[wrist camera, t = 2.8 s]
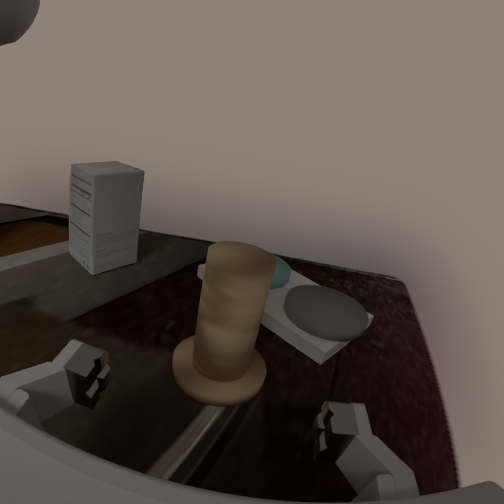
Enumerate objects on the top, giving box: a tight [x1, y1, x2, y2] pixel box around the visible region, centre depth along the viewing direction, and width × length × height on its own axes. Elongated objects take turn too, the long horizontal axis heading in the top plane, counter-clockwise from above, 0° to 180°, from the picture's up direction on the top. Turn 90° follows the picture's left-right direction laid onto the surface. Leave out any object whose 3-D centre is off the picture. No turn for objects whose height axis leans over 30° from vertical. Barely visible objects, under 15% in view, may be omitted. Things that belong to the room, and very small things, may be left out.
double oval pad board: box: [197, 253, 374, 365], centre depth 39 cm, size 22×12×3 cm, turn 45°
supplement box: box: [69, 161, 145, 275], centre depth 37 cm, size 7×7×13 cm
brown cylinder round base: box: [172, 241, 277, 407], centre depth 24 cm, size 8×8×11 cm
